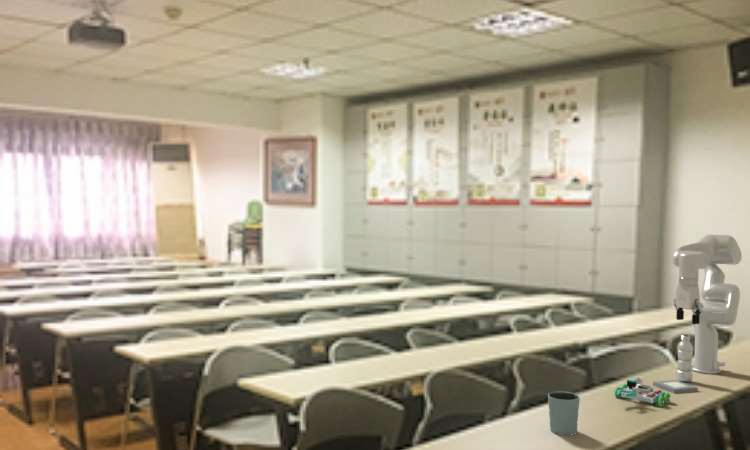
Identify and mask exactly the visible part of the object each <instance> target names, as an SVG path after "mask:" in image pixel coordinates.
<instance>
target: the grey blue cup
mask: <svg viewBox="0 0 750 450" xmlns="http://www.w3.org/2000/svg"><path fill="white" fill-rule="evenodd" d="M547 400H548V401H547V402H548V409H549V411H548V414H549V416H548V417H549V430H550V432H551V433H553V434H556V435H559V434H561V435H560V436H565V435H570V436H572V435H571V434H575V433H576V434H577V433H578V421H579V408H580V400H581V397H580V395H579V394H577V393H574V392H570V391H560V390H559V391H557V390H556V391H551V392H548V393H547ZM562 434H563V435H562ZM576 434H575V435H576Z"/></svg>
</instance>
